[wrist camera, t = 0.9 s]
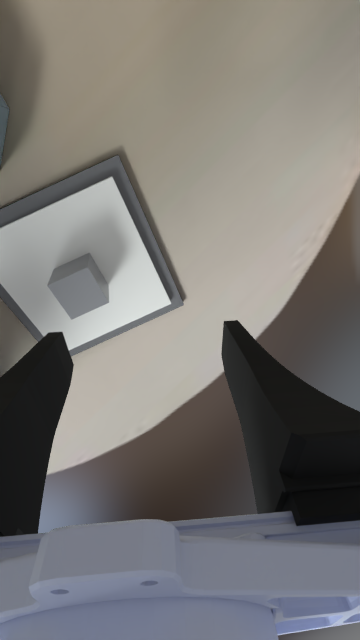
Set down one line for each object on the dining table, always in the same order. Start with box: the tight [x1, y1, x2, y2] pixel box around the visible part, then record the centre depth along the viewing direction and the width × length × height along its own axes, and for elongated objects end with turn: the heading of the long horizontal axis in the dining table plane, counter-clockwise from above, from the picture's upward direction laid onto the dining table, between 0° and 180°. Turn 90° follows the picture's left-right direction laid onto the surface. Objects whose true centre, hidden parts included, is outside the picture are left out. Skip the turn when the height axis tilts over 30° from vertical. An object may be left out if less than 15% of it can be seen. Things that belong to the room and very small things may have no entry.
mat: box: [0, 155, 184, 356], centre depth 24 cm, size 13×13×1 cm
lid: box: [0, 176, 171, 350], centre depth 22 cm, size 11×11×4 cm
